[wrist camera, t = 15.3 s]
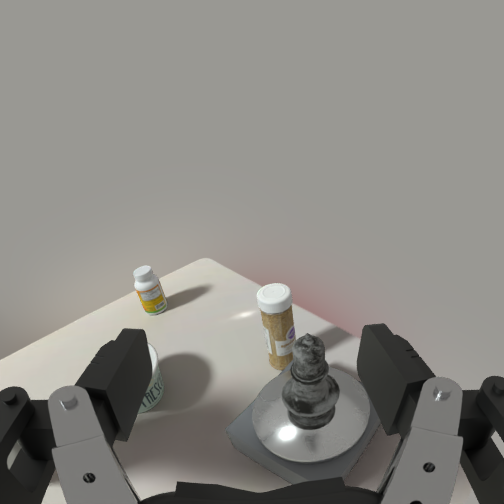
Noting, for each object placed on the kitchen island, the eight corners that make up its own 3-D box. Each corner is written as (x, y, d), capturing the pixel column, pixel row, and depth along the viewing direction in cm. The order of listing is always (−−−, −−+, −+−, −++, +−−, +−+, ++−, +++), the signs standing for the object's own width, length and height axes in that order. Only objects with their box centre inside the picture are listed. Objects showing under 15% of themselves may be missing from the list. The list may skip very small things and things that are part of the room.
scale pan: (233, 432, 31) (228, 422, 30) (297, 364, 39) (296, 352, 38) (327, 488, 22) (328, 481, 21) (385, 400, 31) (388, 387, 29)
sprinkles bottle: (294, 373, 43) (285, 303, 37) (265, 368, 44) (251, 300, 38) (301, 351, 46) (294, 282, 40) (274, 348, 48) (262, 280, 42)
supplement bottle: (149, 302, 66) (134, 265, 62) (170, 299, 66) (157, 262, 61) (142, 316, 61) (126, 278, 57) (165, 314, 61) (150, 275, 57)
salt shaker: (328, 383, 32) (329, 304, 27) (345, 423, 27) (354, 348, 21) (279, 396, 32) (265, 319, 26) (290, 438, 27) (279, 368, 21)
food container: (124, 362, 49) (109, 336, 46) (181, 368, 47) (168, 341, 44) (96, 412, 39) (75, 388, 36) (158, 427, 36) (139, 402, 33)
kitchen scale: (234, 447, 33) (224, 429, 30) (301, 376, 42) (298, 352, 39) (327, 502, 24) (329, 490, 21) (386, 411, 33) (393, 389, 30)
